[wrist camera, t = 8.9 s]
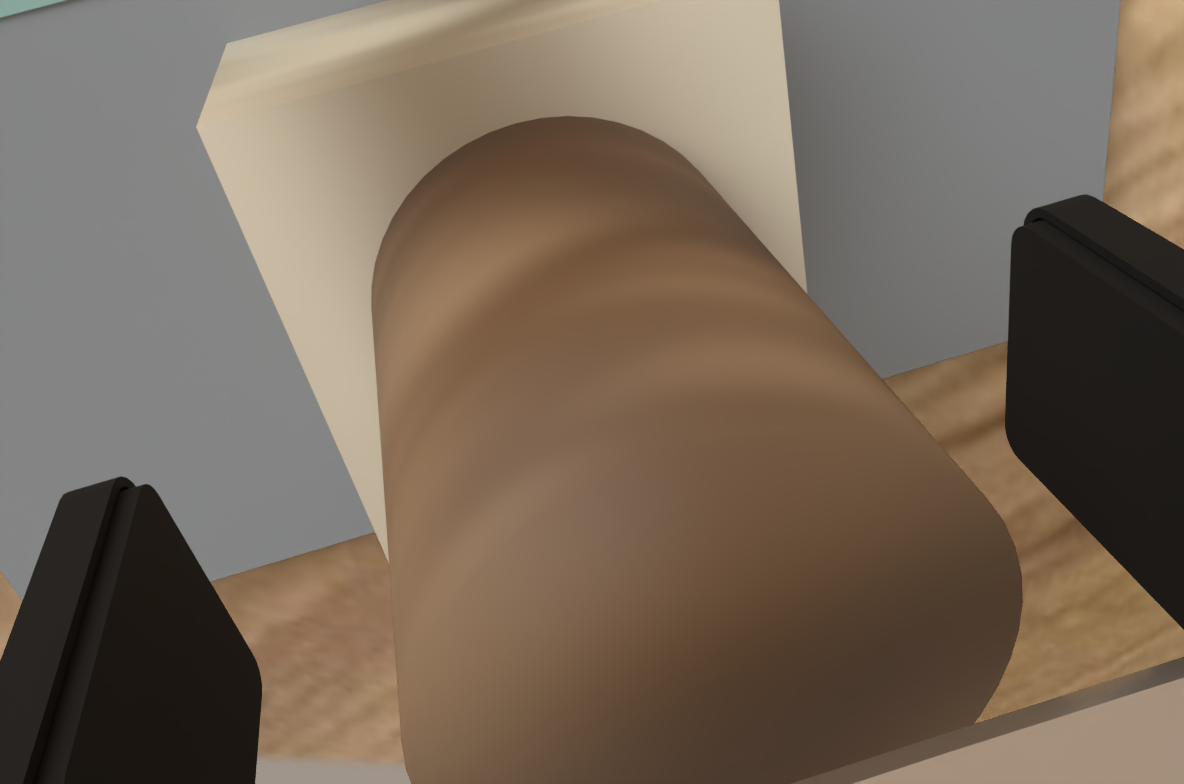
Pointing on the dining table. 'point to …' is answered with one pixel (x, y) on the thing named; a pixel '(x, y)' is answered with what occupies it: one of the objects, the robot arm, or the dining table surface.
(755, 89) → the birch pedestal
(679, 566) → the walnut drum
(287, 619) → the dining table surface
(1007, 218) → the slate board
